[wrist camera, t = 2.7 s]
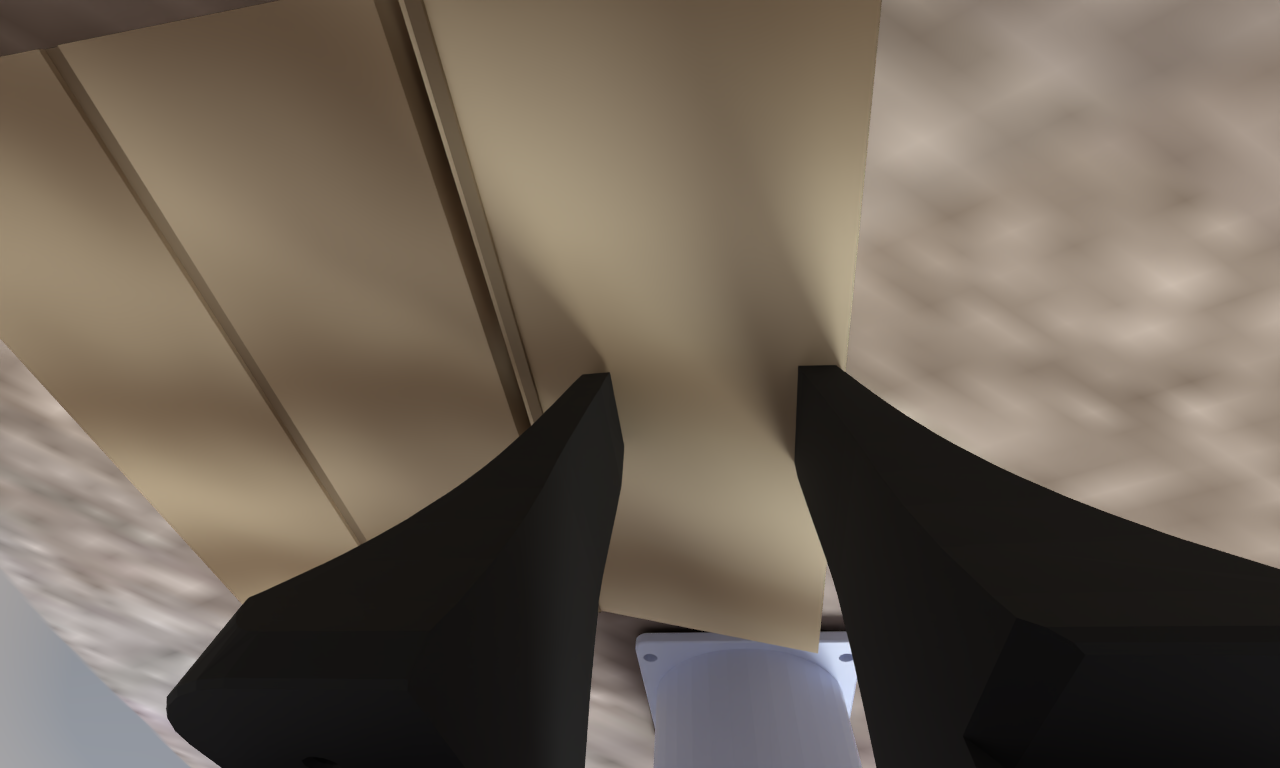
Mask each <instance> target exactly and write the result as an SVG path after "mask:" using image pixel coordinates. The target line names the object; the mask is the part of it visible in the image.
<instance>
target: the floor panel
mask: <svg viewBox="0 0 1280 768" xmlns="http://www.w3.org/2000/svg"><path fill="white" fill-rule="evenodd" d="M0 339H1V340H2V341H3V342H4V343H5V344H6V345H7V346H8V348H9V349H10V350H11V351H12V352H13V353H14V354H15V355H16V356H17V357H18V359H19V360H20V361H21V362H22V363H23V364H24V365H25V366H26V367H27V368H28V370H29V371H30V372H31V373H32V374H33V375H34V376H35V377H36V378H37V379H38V381H39V382H40V383H41V384H42V385H43V386H44V387H45V388H46V389H47V390H48V391H49V393H50V394H51V395H52V396H53V397H54V398H55V399H56V400H57V401H58V402H59V404H60V405H61V406H62V407H63V408H64V409H65V410H66V411H67V412H68V413H69V415H70V416H71V417H72V418H73V419H74V420H75V421H76V422H77V423H78V424H79V426H80V427H81V428H82V429H83V430H84V431H85V432H86V433H87V434H88V435H89V437H90V438H91V439H92V440H93V441H94V442H95V443H96V444H97V445H98V446H99V447H100V449H101V450H102V451H103V452H104V453H105V454H106V455H107V456H108V457H109V458H110V460H111V461H112V462H113V463H114V464H115V465H116V466H117V467H118V468H119V469H120V471H121V472H122V473H123V474H124V475H125V476H126V477H127V478H128V479H129V480H130V482H131V483H132V484H133V485H134V486H135V487H136V488H137V489H138V490H139V491H140V493H141V494H142V495H143V496H144V497H145V498H146V499H147V500H148V501H149V502H150V503H151V505H152V506H153V507H154V508H155V509H156V510H157V511H158V512H159V513H160V514H161V516H162V517H163V518H164V519H165V520H166V521H167V522H168V523H169V524H170V525H171V527H172V528H173V529H174V530H175V531H176V532H177V533H178V534H179V535H180V536H181V538H182V539H183V540H184V541H185V542H186V543H187V544H188V545H189V546H190V547H191V548H192V550H193V551H194V552H195V553H196V554H197V555H198V556H199V557H200V558H201V559H202V561H203V562H204V563H205V564H206V565H207V566H208V567H209V568H210V569H211V570H212V572H213V573H214V574H215V575H216V576H217V577H218V578H219V579H220V580H221V581H222V583H223V584H224V585H225V586H226V587H227V588H228V589H229V590H230V591H231V592H232V594H233V595H234V596H235V597H236V598H237V599H238V600H239V601H240V602H241V603H242V604H243V603H244V602H245V601H246V600H247V599H248V598H249V597H251V596H253V595H256V594H258V593H260V592H263V591H265V590H267V589H269V588H272V587H274V586H276V585H278V584H280V583H282V582H285V581H287V580H289V579H291V578H293V577H295V576H298V575H300V574H302V573H304V572H306V571H308V570H311V569H313V568H315V567H317V566H319V565H321V564H324V563H326V562H328V561H330V560H332V559H334V558H336V557H338V556H340V555H342V554H344V553H346V552H348V551H350V550H352V549H354V548H355V547H357V546H359V545H361V544H363V543H365V542H367V541H369V540H371V539H372V538H374V537H376V536H378V535H380V534H381V533H383V532H385V531H387V530H389V529H390V528H392V527H394V526H396V525H397V524H399V523H401V522H403V521H404V520H406V519H408V518H409V517H411V516H412V515H414V514H415V513H417V512H419V511H420V510H422V509H423V508H425V507H426V506H428V505H430V504H431V503H433V502H434V501H436V500H437V499H439V498H441V497H442V496H444V495H445V494H447V493H448V492H450V491H451V490H453V489H454V488H456V487H457V486H459V485H460V484H461V483H463V482H464V481H465V480H467V479H468V478H469V477H471V476H472V475H474V474H475V473H476V472H478V471H479V470H480V469H482V468H483V467H484V466H485V465H487V464H488V463H489V462H490V461H492V460H493V459H494V458H495V457H497V456H498V455H499V454H500V453H501V452H502V451H504V450H505V449H506V448H507V447H508V446H509V445H510V444H511V443H512V442H514V441H515V440H516V439H517V438H518V437H519V436H520V435H521V434H522V433H524V432H525V431H526V430H527V429H528V428H529V427H530V426H531V423H530V420H529V417H528V414H527V411H526V407H525V404H524V401H523V398H522V395H521V391H520V388H519V385H518V382H517V379H516V375H515V372H514V369H513V366H512V363H511V359H510V356H509V353H508V350H507V347H506V343H505V340H504V337H503V334H502V331H501V327H500V324H499V321H498V318H497V315H496V311H495V308H494V305H493V302H492V299H491V295H490V292H489V289H488V286H487V283H486V279H485V276H484V273H483V270H482V266H481V263H480V260H479V257H478V254H477V250H476V247H475V244H474V241H473V238H472V234H471V231H470V228H469V225H468V222H467V218H466V215H465V212H464V209H463V206H462V202H461V199H460V196H459V193H458V190H457V186H456V183H455V180H454V177H453V174H452V170H451V167H450V164H449V161H448V158H447V154H446V151H445V148H444V145H443V142H442V138H441V135H440V132H439V129H438V126H437V122H436V119H435V116H434V113H433V110H432V106H431V103H430V100H429V97H428V94H427V90H426V87H425V84H424V81H423V77H422V74H421V71H420V68H419V65H418V61H417V58H416V55H415V52H414V49H413V45H412V42H411V39H410V36H409V33H408V29H407V26H406V23H405V20H404V17H403V13H402V10H401V7H400V4H399V1H398V0H278V1H273V2H268V3H263V4H258V5H253V6H248V7H244V8H239V9H234V10H229V11H224V12H219V13H214V14H209V15H204V16H199V17H194V18H189V19H184V20H179V21H174V22H169V23H164V24H160V25H155V26H150V27H145V28H140V29H135V30H130V31H125V32H120V33H115V34H110V35H105V36H100V37H95V38H90V39H85V40H80V41H75V42H71V43H66V44H61V45H58V47H54V48H49V49H36V50H31V51H26V52H21V53H16V54H11V55H6V56H1V57H0Z"/></svg>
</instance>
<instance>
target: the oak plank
mask: <svg viewBox="0 0 1280 768" xmlns="http://www.w3.org/2000/svg"><path fill="white" fill-rule="evenodd" d="M398 1H399V4H400V7H401V10H402V13H403V17H404V20H405V23H406V26H407V29H408V33H409V36H410V39H411V42H412V45H413V49H414V52H415V55H416V58H417V61H418V65H419V68H420V71H421V74H422V77H423V81H424V84H425V87H426V90H427V94H428V97H429V100H430V103H431V106H432V110H433V113H434V116H435V119H436V122H437V126H438V129H439V132H440V135H441V138H442V142H443V145H444V148H445V151H446V154H447V158H448V161H449V164H450V167H451V170H452V174H453V177H454V180H455V183H456V186H457V190H458V193H459V196H460V199H461V202H462V206H463V209H464V212H465V215H466V218H467V222H468V225H469V228H470V231H471V234H472V238H473V241H474V244H475V247H476V250H477V254H478V257H479V260H480V263H481V266H482V270H483V273H484V276H485V279H486V283H487V286H488V289H489V292H490V295H491V299H492V302H493V305H494V308H495V311H496V315H497V318H498V321H499V324H500V327H501V331H502V334H503V337H504V340H505V343H506V347H507V350H508V353H509V356H510V359H511V363H512V366H513V369H514V372H515V375H516V379H517V382H518V385H519V388H520V391H521V395H522V398H523V401H524V404H525V407H526V411H527V414H528V417H529V420H530V423H531V425H532V424H533V423H534V422H535V421H536V420H537V419H538V418H539V417H540V416H541V415H542V414H543V413H544V412H545V411H546V410H547V409H548V408H549V407H550V406H551V405H552V404H553V403H555V401H556V400H557V399H558V398H559V397H560V396H561V395H562V394H563V393H564V392H565V391H566V390H567V389H568V388H569V387H570V386H571V385H572V384H573V383H574V382H575V381H576V380H577V379H578V378H579V377H580V376H581V375H582V374H593V373H606V372H610V375H611V380H612V385H613V390H614V396H615V401H616V406H617V411H618V416H619V421H620V426H621V431H622V437H623V442H624V461H623V474H622V486H621V491H620V497H619V501H618V506H617V511H616V516H615V521H614V526H613V531H612V535H611V540H610V545H609V550H608V555H607V559H606V564H605V569H604V574H603V579H602V585H601V591H600V597H599V606H598V612H601V611H605V612H610V613H615V614H620V615H626V616H631V617H636V618H641V619H646V620H651V621H656V622H661V623H666V624H671V625H676V626H681V627H686V628H691V629H696V630H702V631H707V632H712V633H717V634H722V635H727V636H732V637H737V638H742V639H747V640H752V641H757V642H762V643H767V644H772V645H778V646H783V647H788V648H793V649H798V650H803V651H808V652H813V653H818V648H819V638H820V628H821V618H822V607H823V597H824V587H825V577H826V566H827V560H826V558H825V555H824V552H823V549H822V546H821V543H820V541H819V538H818V535H817V532H816V529H815V526H814V524H813V521H812V518H811V515H810V512H809V509H808V507H807V504H806V501H805V498H804V495H803V492H802V489H801V486H800V483H799V480H798V477H797V473H796V468H795V463H794V458H795V433H796V407H797V382H798V366H810V365H837V366H838V367H839V368H841V369H842V370H843V371H846V361H847V351H848V341H849V330H850V320H851V310H852V300H853V289H854V279H855V269H856V259H857V248H858V238H859V228H860V218H861V207H862V197H863V187H864V177H865V166H866V156H867V146H868V136H869V125H870V115H871V105H872V95H873V84H874V74H875V64H876V53H877V43H878V33H879V23H880V12H881V2H882V0H398Z"/></svg>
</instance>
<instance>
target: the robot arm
mask: <svg viewBox="0 0 1280 768" xmlns="http://www.w3.org/2000/svg"><path fill="white" fill-rule="evenodd" d="M623 461H624V442H623V437H622V431H621V426H620V421H619V416H618V411H617V406H616V401H615V396H614V390H613V385H612V380H611V375H610V372H606V373H593V374H582V375H581V376H580V377H579V378H578V379H577V380H576V381H575V382H574V383H573V384H572V385H571V386H570V387H569V388H568V389H567V390H566V391H565V392H564V393H563V394H562V395H561V396H560V397H559V398H558V399H557V400H556V401H555V403H553V404H552V405H551V406H550V407H549V408H548V409H547V410H546V411H545V412H544V413H543V414H542V415H541V416H540V417H539V418H538V419H537V420H536V421H535V422H534V423H533V424H532V425H531V426H530V427H529V428H528V429H527V430H526V431H525V432H524V433H522V434H521V435H520V436H519V437H518V438H517V439H516V440H515V441H514V442H512V443H511V444H510V445H509V446H508V447H507V448H506V449H505V450H504V451H502V452H501V453H500V454H499V455H498V456H497V457H495V458H494V459H493V460H492V461H490V462H489V463H488V464H487V465H485V466H484V467H483V468H482V469H480V470H479V471H478V472H476V473H475V474H474V475H472V476H471V477H469V478H468V479H467V480H465V481H464V482H463V483H461V484H460V485H459V486H457V487H456V488H454V489H453V490H451V491H450V492H448V493H447V494H445V495H444V496H442V497H441V498H439V499H437V500H436V501H434V502H433V503H431V504H430V505H428V506H426V507H425V508H423V509H422V510H420V511H419V512H417V513H415V514H414V515H412V516H411V517H409V518H408V519H406V520H404V521H403V522H401V523H399V524H397V525H396V526H394V527H392V528H390V529H389V530H387V531H385V532H383V533H381V534H380V535H378V536H376V537H374V538H372V539H371V540H369V541H367V542H365V543H363V544H361V545H359V546H357V547H355V548H354V549H352V550H350V551H348V552H346V553H344V554H342V555H340V556H338V557H336V558H334V559H332V560H330V561H328V562H326V563H324V564H321V565H319V566H317V567H315V568H313V569H311V570H308V571H306V572H304V573H302V574H300V575H298V576H295V577H293V578H291V579H289V580H287V581H285V582H282V583H280V584H278V585H276V586H274V587H272V588H269V589H267V590H265V591H263V592H260V593H258V594H256V595H253V596H251V597H249V598H248V599H247V600H246V601H245V602H244V603H243V605H242V606H241V607H240V608H239V609H238V611H237V612H236V613H235V614H234V616H233V617H232V618H231V619H230V620H229V622H228V623H227V624H226V625H225V627H224V628H223V629H222V630H221V631H220V633H219V634H218V635H217V636H216V638H215V639H214V640H213V641H212V642H211V644H210V645H209V646H208V647H207V648H206V650H205V651H204V652H203V653H202V655H201V656H200V657H199V658H198V659H197V661H196V662H195V663H194V664H193V666H192V667H191V668H190V669H189V670H188V672H187V673H186V674H185V675H184V677H183V678H182V679H181V680H180V681H179V683H178V684H177V685H176V686H175V687H174V689H173V690H172V691H171V692H170V694H169V695H168V696H167V707H166V710H167V718H168V720H169V721H170V723H171V725H172V726H173V728H174V730H175V731H176V732H177V733H178V734H179V735H180V736H181V737H182V738H184V739H185V740H186V741H187V742H188V743H189V744H190V745H192V746H193V747H194V748H196V749H197V750H198V751H200V752H201V753H202V754H204V755H205V756H206V757H208V758H209V759H211V760H212V761H213V762H215V763H216V764H217V765H219V766H220V767H221V768H585V756H586V742H587V729H588V715H589V701H590V690H591V678H592V667H593V656H594V645H595V635H596V625H597V616H598V606H599V597H600V591H601V585H602V579H603V574H604V569H605V564H606V559H607V555H608V550H609V545H610V540H611V535H612V531H613V526H614V521H615V516H616V511H617V506H618V501H619V497H620V491H621V486H622V474H623ZM794 463H795V468H796V473H797V477H798V480H799V483H800V486H801V489H802V492H803V495H804V498H805V501H806V504H807V507H808V509H809V512H810V515H811V518H812V521H813V524H814V526H815V529H816V532H817V535H818V538H819V541H820V543H821V546H822V549H823V552H824V555H825V558H826V560H827V563H828V566H829V569H830V572H831V575H832V578H833V582H834V585H835V588H836V591H837V595H838V599H839V603H840V607H841V611H842V615H843V619H844V624H845V628H846V631H822V632H820V638H819V648H818V653H813V652H808V651H803V650H798V649H793V648H788V647H783V646H778V645H772V644H767V643H762V642H757V641H752V640H747V639H742V638H737V637H732V636H727V635H722V634H717V633H712V632H689V633H643V634H641V635H639V636H638V637H637V638H636V647H635V650H636V654H637V658H638V662H639V666H640V670H641V674H642V678H643V682H644V686H645V690H646V694H647V698H648V702H649V706H650V710H651V714H652V718H653V722H654V727H655V746H654V768H862V765H861V761H860V757H859V753H858V750H857V746H856V742H855V738H854V734H853V730H852V726H851V723H850V715H851V710H852V704H853V699H854V693H855V688H856V682H857V679H858V684H859V688H860V693H861V697H862V701H863V706H864V711H865V716H866V720H867V725H868V730H869V734H870V739H871V744H872V748H873V753H874V758H875V763H876V767H877V768H1280V569H1277V568H1274V567H1271V566H1268V565H1264V564H1261V563H1258V562H1255V561H1251V560H1248V559H1245V558H1242V557H1238V556H1235V555H1232V554H1229V553H1225V552H1222V551H1219V550H1216V549H1212V548H1209V547H1206V546H1203V545H1199V544H1196V543H1193V542H1190V541H1186V540H1183V539H1180V538H1177V537H1174V536H1171V535H1168V534H1165V533H1162V532H1160V531H1157V530H1154V529H1151V528H1149V527H1146V526H1143V525H1140V524H1137V523H1135V522H1132V521H1129V520H1126V519H1123V518H1121V517H1118V516H1115V515H1112V514H1110V513H1107V512H1104V511H1101V510H1099V509H1096V508H1094V507H1091V506H1089V505H1086V504H1084V503H1081V502H1078V501H1076V500H1073V499H1071V498H1068V497H1066V496H1063V495H1061V494H1059V493H1056V492H1054V491H1052V490H1049V489H1047V488H1045V487H1042V486H1040V485H1038V484H1036V483H1033V482H1031V481H1029V480H1026V479H1024V478H1022V477H1019V476H1017V475H1015V474H1013V473H1011V472H1008V471H1006V470H1004V469H1002V468H1000V467H998V466H996V465H994V464H992V463H990V462H988V461H986V460H984V459H982V458H980V457H978V456H976V455H974V454H972V453H970V452H968V451H966V450H965V449H963V448H961V447H959V446H957V445H955V444H953V443H951V442H949V441H948V440H946V439H944V438H942V437H941V436H939V435H937V434H935V433H934V432H932V431H930V430H929V429H927V428H926V427H924V426H922V425H921V424H919V423H918V422H916V421H914V420H913V419H911V418H909V417H908V416H906V415H905V414H903V413H902V412H900V411H899V410H897V409H896V408H894V407H893V406H891V405H890V404H888V403H887V402H885V401H884V400H883V399H881V398H880V397H878V396H877V395H875V394H874V393H873V392H871V391H870V390H869V389H867V388H866V387H864V386H863V385H862V384H860V383H859V382H858V381H856V380H855V379H854V378H852V377H851V376H850V375H848V374H847V373H846V372H845V371H843V370H842V369H841V368H839V367H838V366H837V365H810V366H798V382H797V407H796V433H795V458H794Z"/></svg>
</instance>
